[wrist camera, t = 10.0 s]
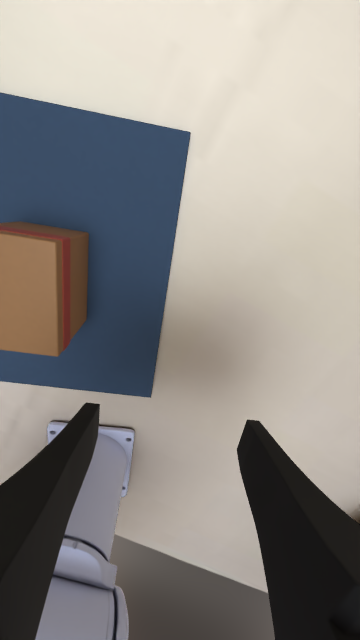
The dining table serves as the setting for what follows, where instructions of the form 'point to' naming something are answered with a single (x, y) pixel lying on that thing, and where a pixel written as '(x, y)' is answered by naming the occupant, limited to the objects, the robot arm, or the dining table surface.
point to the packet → (41, 287)
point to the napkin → (97, 233)
